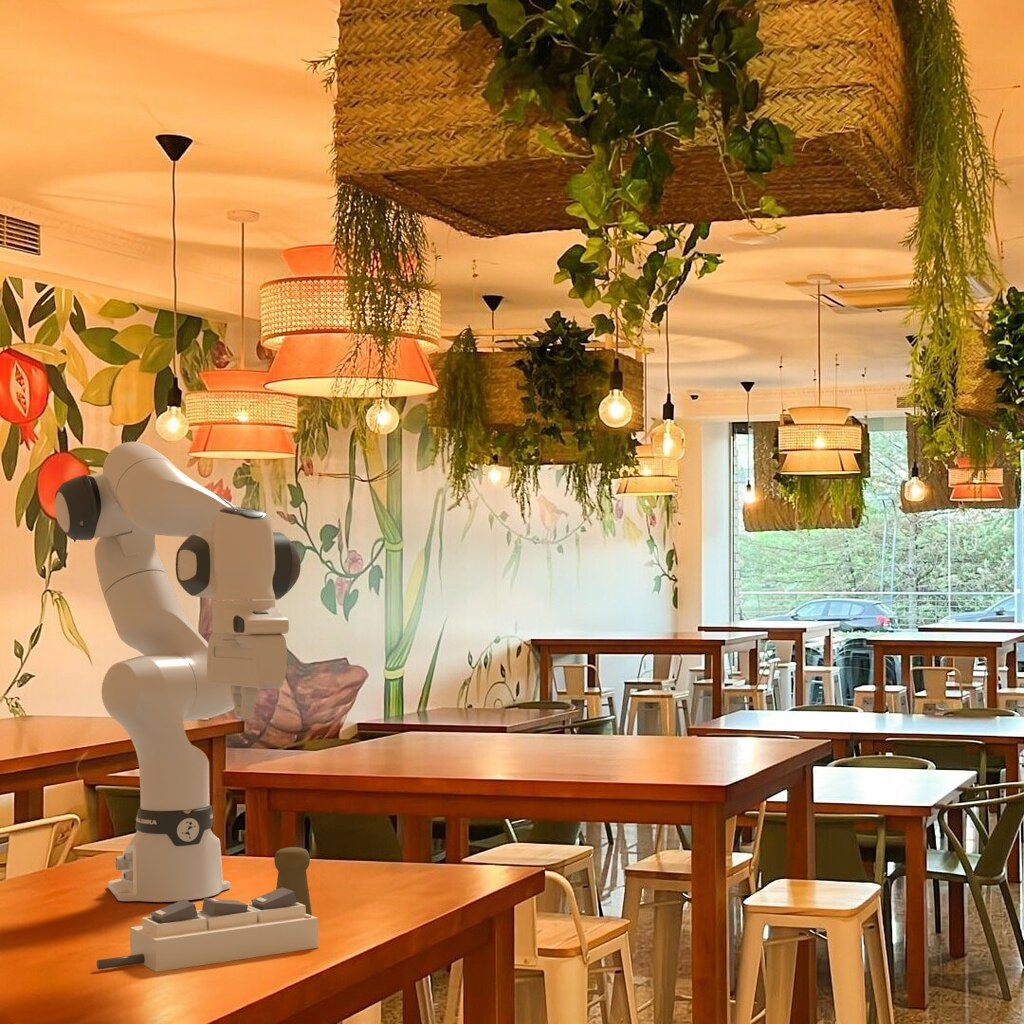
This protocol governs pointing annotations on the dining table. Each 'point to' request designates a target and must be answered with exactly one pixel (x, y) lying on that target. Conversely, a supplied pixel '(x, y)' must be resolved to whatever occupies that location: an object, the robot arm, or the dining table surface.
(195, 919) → the switch strip
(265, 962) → the dining table surface
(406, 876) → the dining table surface
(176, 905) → the rocker
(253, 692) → the robot arm
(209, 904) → the rocker
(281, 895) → the rocker
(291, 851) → the cork
